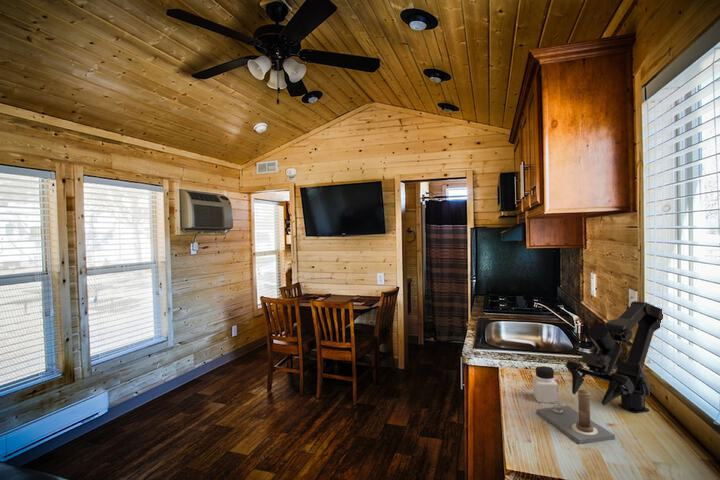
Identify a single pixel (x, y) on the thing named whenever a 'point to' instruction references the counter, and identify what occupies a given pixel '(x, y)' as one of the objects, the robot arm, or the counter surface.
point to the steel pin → (557, 407)
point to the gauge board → (574, 425)
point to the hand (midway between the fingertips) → (587, 398)
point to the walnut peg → (584, 412)
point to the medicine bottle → (545, 385)
